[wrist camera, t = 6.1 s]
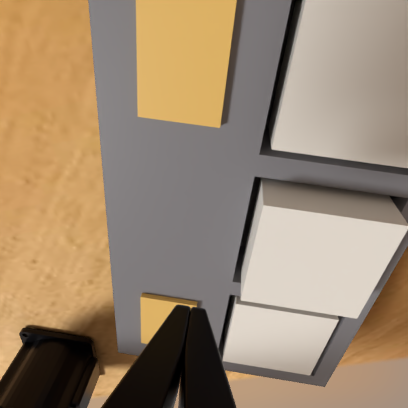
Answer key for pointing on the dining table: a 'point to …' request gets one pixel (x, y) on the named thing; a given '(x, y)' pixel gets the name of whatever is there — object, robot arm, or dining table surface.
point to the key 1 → (275, 336)
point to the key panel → (201, 160)
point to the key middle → (318, 247)
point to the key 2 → (345, 82)
